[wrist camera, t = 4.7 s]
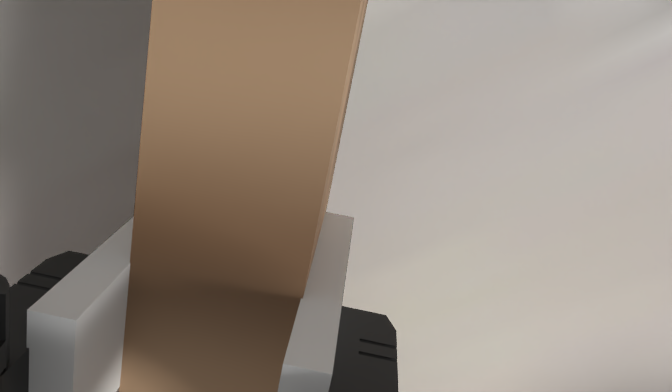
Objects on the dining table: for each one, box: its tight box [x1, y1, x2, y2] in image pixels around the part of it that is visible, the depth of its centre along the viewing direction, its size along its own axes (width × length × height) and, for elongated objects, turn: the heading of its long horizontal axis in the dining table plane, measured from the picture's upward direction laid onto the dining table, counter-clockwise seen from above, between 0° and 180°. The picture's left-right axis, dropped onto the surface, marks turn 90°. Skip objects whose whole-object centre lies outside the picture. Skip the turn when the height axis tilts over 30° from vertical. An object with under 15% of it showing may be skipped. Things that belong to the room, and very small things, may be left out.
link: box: [119, 0, 368, 392], centre depth 14 cm, size 25×8×5 cm, turn 169°
